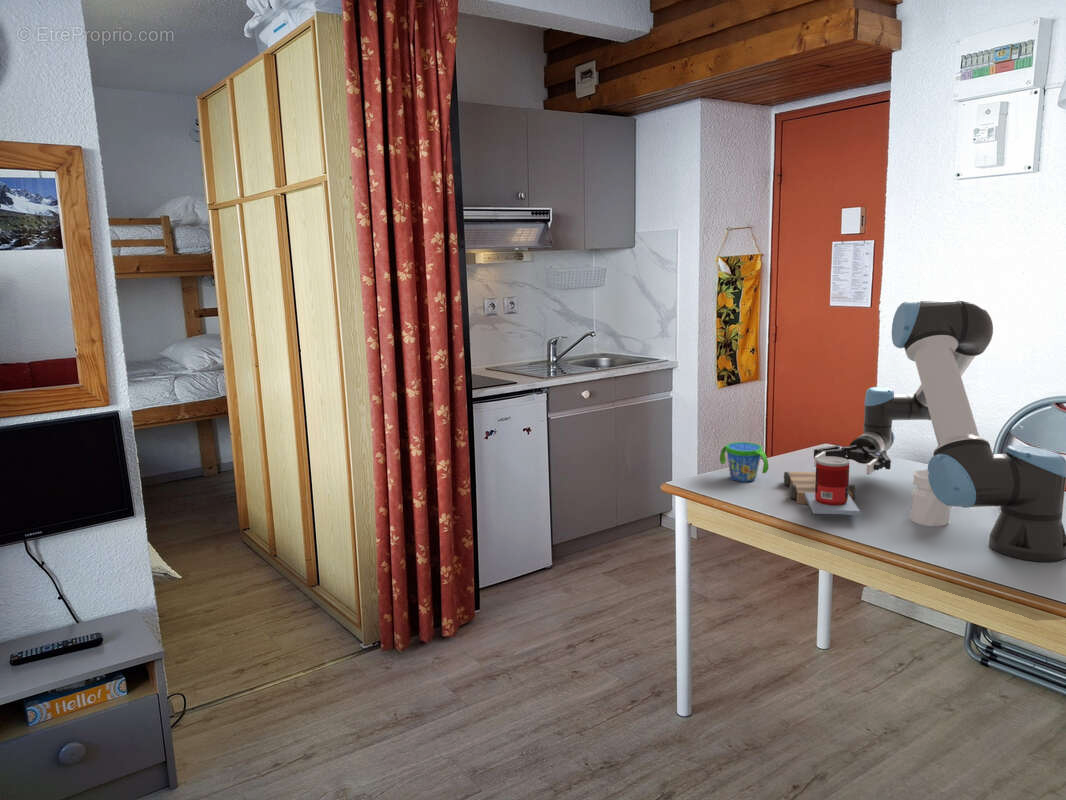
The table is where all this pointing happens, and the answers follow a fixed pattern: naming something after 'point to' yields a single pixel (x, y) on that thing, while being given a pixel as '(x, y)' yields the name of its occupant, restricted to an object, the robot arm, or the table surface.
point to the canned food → (832, 480)
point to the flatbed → (805, 485)
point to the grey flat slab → (831, 506)
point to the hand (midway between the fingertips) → (841, 465)
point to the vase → (927, 503)
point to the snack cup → (744, 460)
